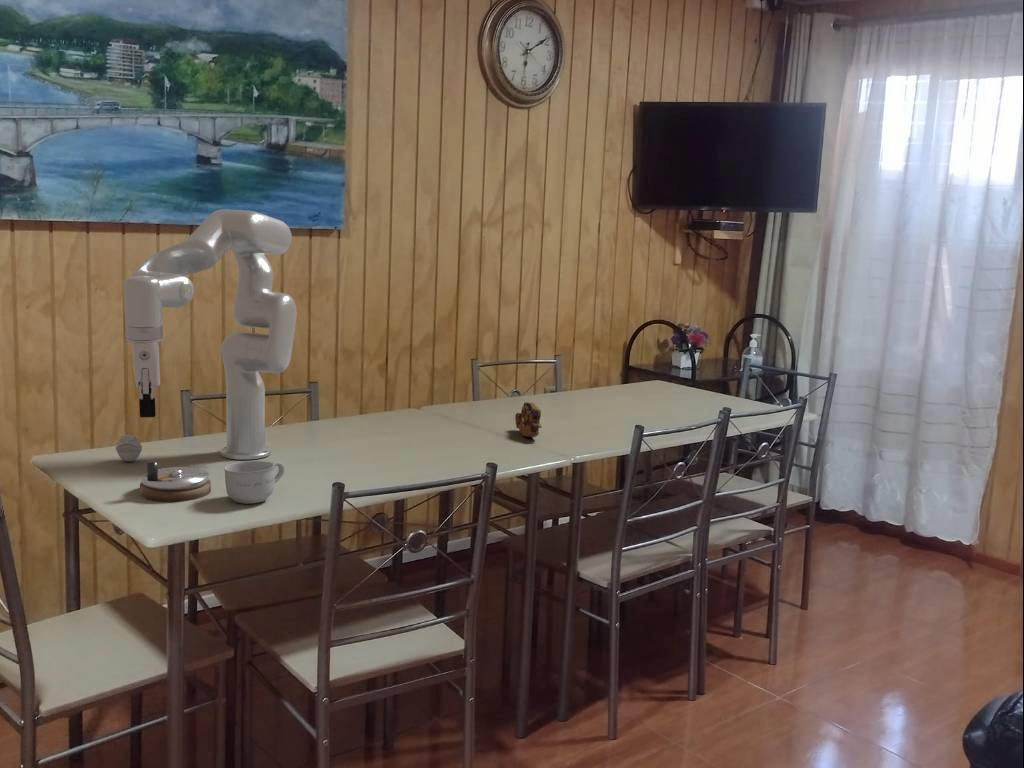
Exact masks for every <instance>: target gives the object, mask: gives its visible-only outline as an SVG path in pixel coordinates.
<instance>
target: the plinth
mask: <svg viewBox="0 0 1024 768" xmlns="http://www.w3.org/2000/svg"><path fill="white" fill-rule="evenodd" d="M211 483H212V481H211V479H210V478H208V483H207V484H205V485H203V486H201V487H198V488H194V489H188V490H180V491H160V490H153V489H149V488H146V487H144V486H143V485H142V481H141V482H140V484H139V495H140V497H142V498H143V499H145V500H149V501H154V502H162V503H167V502H168V503H174V502H186V501H187V502H188V501H192V500H197V499H200V498H203V497H206V496H208V495H209V494H210V493H211V491H212V489H211V488H212V487H211V486H212V485H211Z"/></svg>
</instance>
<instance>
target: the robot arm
mask: <svg viewBox="0 0 1024 768" xmlns="http://www.w3.org/2000/svg"><path fill="white" fill-rule="evenodd" d="M292 235H293V234H292V231H291V229H290V227H289V226H288V224H286V223H285V222H284V221H283V220H280V219H278V218H275V217H271V216H269V215H266V214H264V213H261V212H257V211H254V210H246V209H245V210H243V209H229V208H228V209H226V208H224V209H218V210H215V211H213V212H212V213H210V215H209V216H207V217H206V219H204V220H203V222H202V223H200V225H198V227H197V228H196V229H195V230H194V231H193V232H192V233H191V234H190V235H189V236H188V237H187V238H186V239H184V240H183V241H181V242H179V243H175V244H173V245H171V246H169V247H167V248H165V249H162V250H160V251H158V252H156V253H154V254H152V255H150V256H149V257H148V258H146V259H145V260H144V261H142V263H141V264H140V265H139V266H138V267H137V268H136V269H135V270H134V272H133V273H132V274H131V276H128V277H126V279H125V280H124V282H123V295H124V296H123V297H124V299H123V300H124V317H125V318H124V319H125V339H126V342H128V343H132V344H131V345H132V360H133V364H132V365H133V373H134V380H135V387H136V388H138V389H139V399H138V402H139V405H138V406H139V417H140V418H141V419H142V418H155V417H156V397H155V392H154V391H155V389H154V387H156V388H159V387H160V386H161V369H160V368H161V365H160V364H161V363H160V361H161V360H160V345H159V343H160V342H162V341H164V329H163V328H164V326H163V324H164V323H163V309H165V308H174V309H175V308H176V309H177V308H182V307H184V306H187V305H188V304H190V302H191V301H192V300H193V298H194V294H195V288H194V284H193V282H192V281H191V279H190V278H188V277H187V275H192V274H198V273H201V272H205V271H207V270H211V269H212V268H213V267H215V265H216V264H217V263H218V262H219V261H220V260H221V259H222V258H223V256H224V255H225V254H226V253H227V252H228V251H229V250H230V251H231V252H232V254H233V256H234V258H235V259H236V263H237V268H238V278H237V279H238V280H237V287H236V292H235V299H234V308H233V318H234V321H235V322H236V323H237V324H238V325H239V326H242V327H245V328H254V329H262V330H268V334H265V333H264V334H263V333H258V332H257V333H256V332H245V331H241V332H240V331H239V332H234V333H231V334H228V335H227V336H226V337H225V339H224V340H223V342H222V345H221V356H222V357H221V358H222V361H223V362H222V363H223V368H224V373H225V374H224V375H225V387H226V388H225V391H226V393H225V394H226V397H225V398H226V399H225V400H226V407H225V409H226V414H225V415H226V446H225V447H222V448H221V449H220V456H221V457H223V458H227V459H229V460H230V459H231V460H241V461H243V460H244V461H245V460H246V461H250V460H257V459H262V458H266V457H269V456H270V455H271V453H272V449H271V448H270V447H269V446H267V445H266V443H265V442H266V428H265V426H266V423H265V422H266V420H265V419H266V417H265V416H266V411H265V410H266V409H265V408H266V403H265V402H266V399H265V397H266V389H265V388H266V387H265V383H264V381H263V378H262V376H261V374H260V373H259V372H261V373H269V374H270V373H271V374H279V373H283V372H285V370H287V369H288V367H289V365H290V362H291V358H292V354H293V346H294V341H295V340H294V339H295V332H296V326H297V316H298V311H297V306H296V305H297V304H296V302H295V300H294V299H293V297H292V296H291V295H289V294H288V293H285V292H278V291H277V292H276V291H273V281H274V271H273V268H272V266H271V263H270V261H269V260H268V258H267V257H266V255H269V256H271V255H272V256H279V255H284V254H286V252H287V251H288V250H289V249H290V247H291V244H292V242H293V240H292V238H293V237H292Z"/></svg>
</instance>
